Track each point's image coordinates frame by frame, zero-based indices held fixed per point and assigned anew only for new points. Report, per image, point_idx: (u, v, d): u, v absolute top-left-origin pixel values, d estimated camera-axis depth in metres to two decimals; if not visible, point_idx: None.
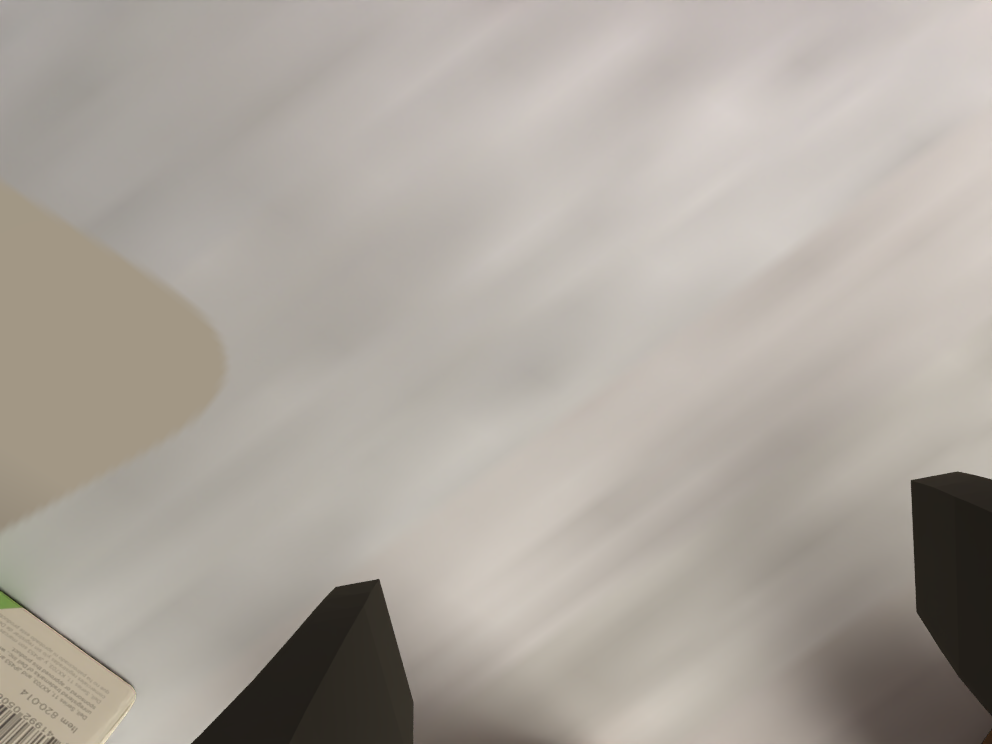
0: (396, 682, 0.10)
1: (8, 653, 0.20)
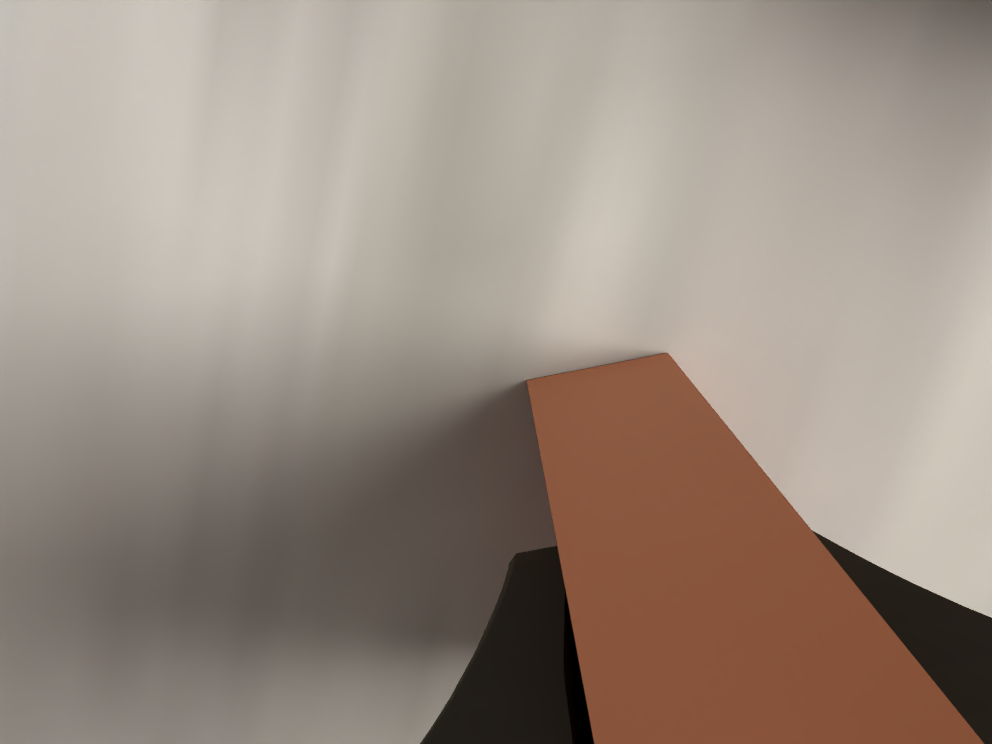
0: None
1: None
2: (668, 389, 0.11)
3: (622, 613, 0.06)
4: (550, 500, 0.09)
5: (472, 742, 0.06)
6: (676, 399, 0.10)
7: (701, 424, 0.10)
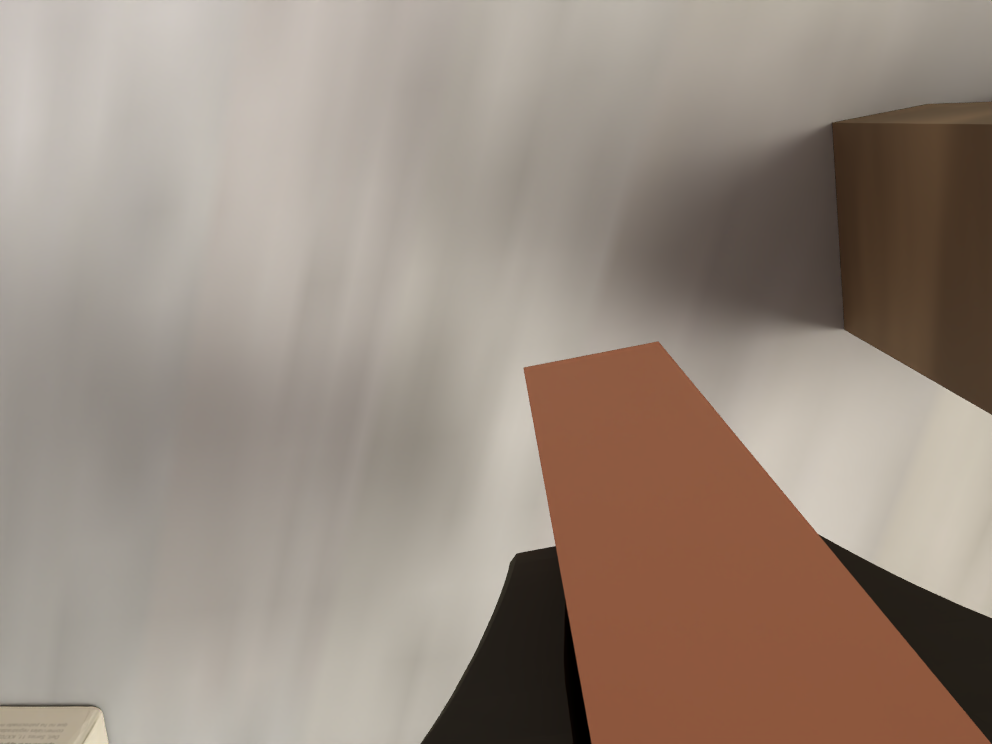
0: None
1: None
2: (657, 373, 0.11)
3: (607, 563, 0.07)
4: (543, 471, 0.09)
5: (472, 742, 0.06)
6: (664, 382, 0.11)
7: (687, 404, 0.10)
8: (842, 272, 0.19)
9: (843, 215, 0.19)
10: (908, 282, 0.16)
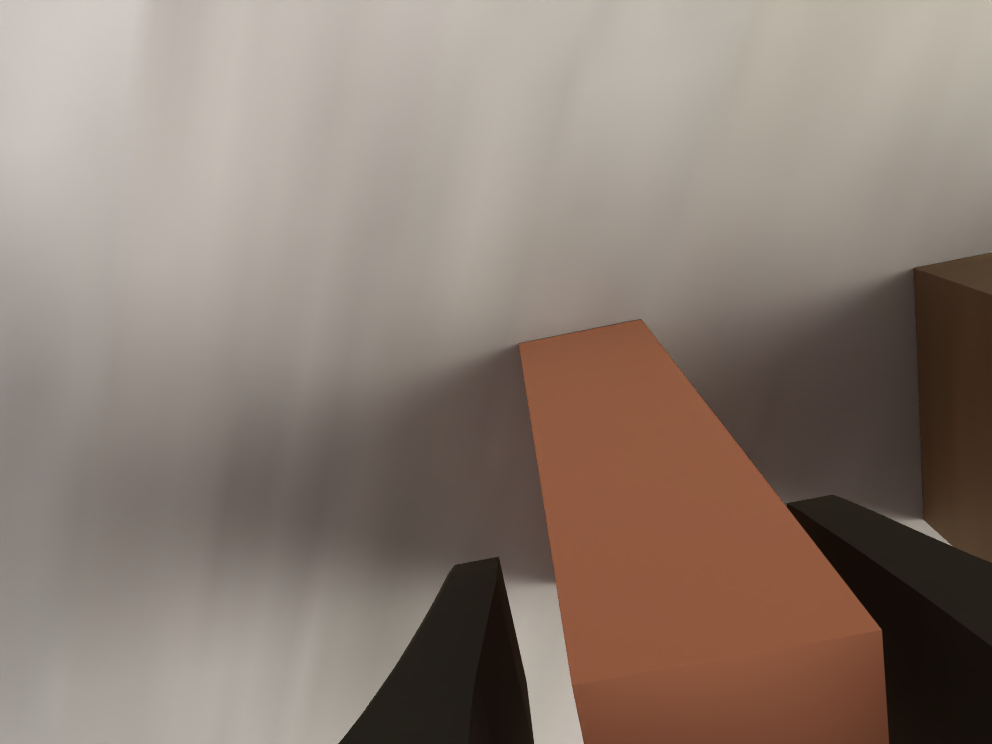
0: (518, 660, 0.10)
1: None
2: (637, 346, 0.13)
3: (582, 498, 0.08)
4: (533, 428, 0.10)
5: None
6: (643, 354, 0.12)
7: (661, 371, 0.11)
8: (923, 452, 0.15)
9: (927, 386, 0.14)
10: None
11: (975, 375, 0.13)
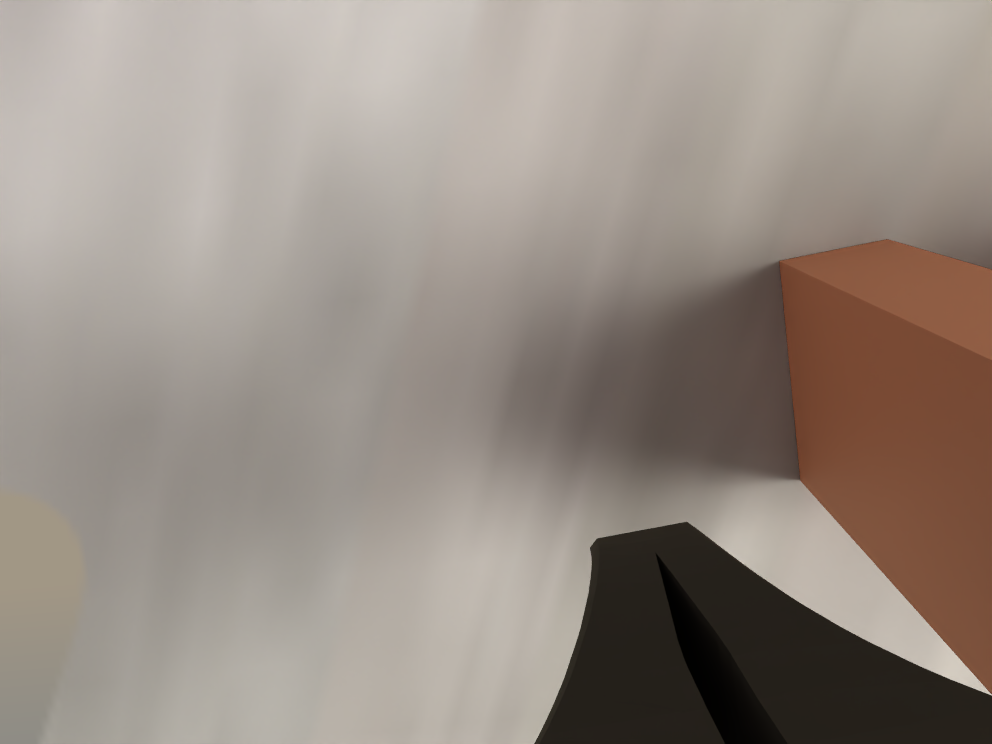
0: None
1: None
2: (909, 254, 0.15)
3: (983, 334, 0.10)
4: (874, 304, 0.12)
5: (605, 718, 0.06)
6: (921, 258, 0.14)
7: (955, 266, 0.14)
8: None
9: None
10: None
11: None
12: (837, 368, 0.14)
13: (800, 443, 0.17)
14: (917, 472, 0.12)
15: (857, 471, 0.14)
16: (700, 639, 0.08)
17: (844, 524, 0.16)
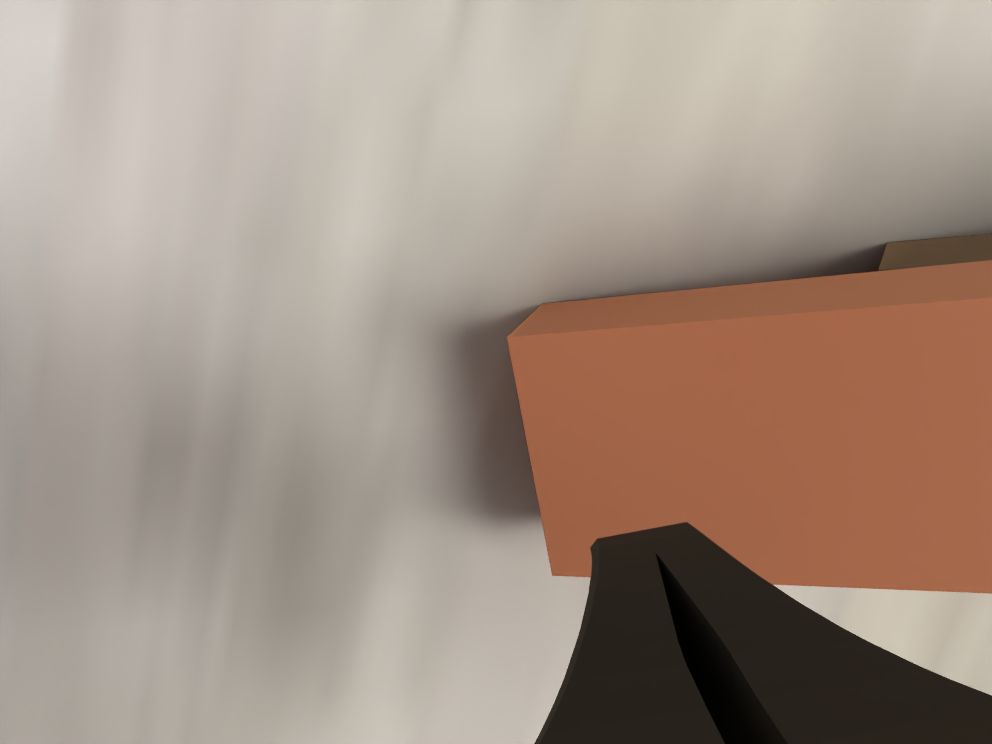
0: None
1: None
2: (612, 301, 0.16)
3: (888, 298, 0.12)
4: (742, 317, 0.13)
5: (605, 718, 0.06)
6: (633, 299, 0.15)
7: (683, 293, 0.15)
8: None
9: None
10: None
11: None
12: (658, 410, 0.14)
13: (555, 531, 0.16)
14: (827, 450, 0.13)
15: (699, 502, 0.14)
16: (700, 639, 0.08)
17: None
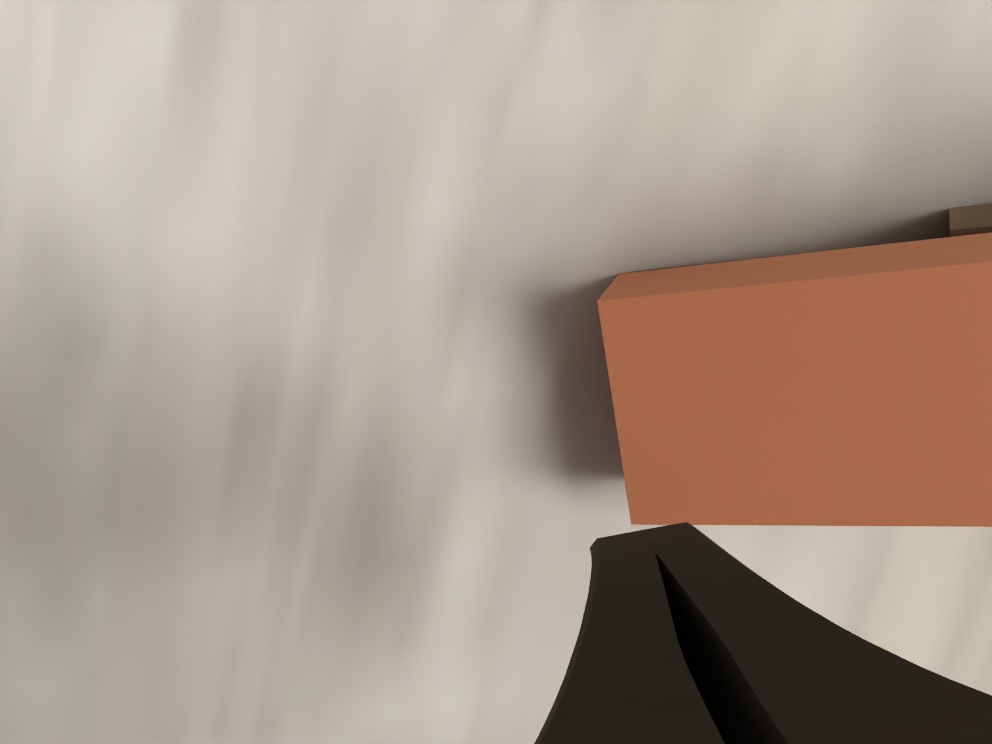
0: None
1: None
2: (688, 269, 0.17)
3: (955, 259, 0.14)
4: (821, 278, 0.14)
5: (605, 718, 0.06)
6: (708, 267, 0.17)
7: (755, 261, 0.16)
8: None
9: None
10: None
11: None
12: (739, 366, 0.15)
13: (635, 482, 0.17)
14: (897, 399, 0.15)
15: (774, 451, 0.16)
16: (700, 639, 0.08)
17: (741, 519, 0.16)
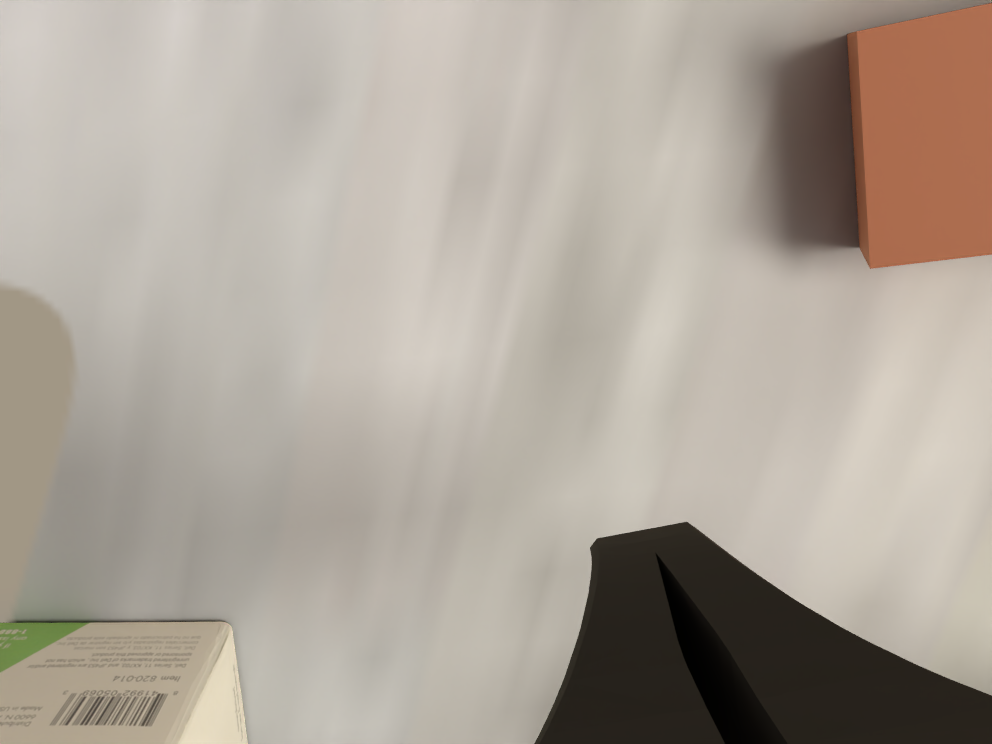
0: None
1: (89, 659, 0.21)
2: None
3: None
4: None
5: (605, 718, 0.06)
6: None
7: None
8: None
9: None
10: None
11: None
12: None
13: (879, 222, 0.18)
14: None
15: None
16: (700, 639, 0.08)
17: (987, 248, 0.17)
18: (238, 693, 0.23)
